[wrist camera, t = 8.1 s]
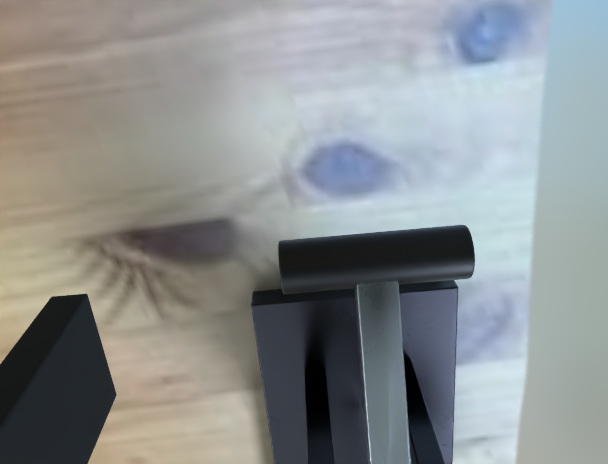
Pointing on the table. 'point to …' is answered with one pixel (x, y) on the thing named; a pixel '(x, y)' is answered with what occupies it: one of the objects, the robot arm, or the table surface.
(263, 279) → the table surface
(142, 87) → the table surface
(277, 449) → the bracket
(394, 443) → the lever
